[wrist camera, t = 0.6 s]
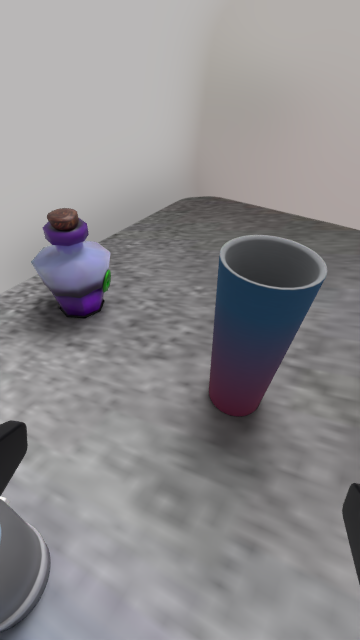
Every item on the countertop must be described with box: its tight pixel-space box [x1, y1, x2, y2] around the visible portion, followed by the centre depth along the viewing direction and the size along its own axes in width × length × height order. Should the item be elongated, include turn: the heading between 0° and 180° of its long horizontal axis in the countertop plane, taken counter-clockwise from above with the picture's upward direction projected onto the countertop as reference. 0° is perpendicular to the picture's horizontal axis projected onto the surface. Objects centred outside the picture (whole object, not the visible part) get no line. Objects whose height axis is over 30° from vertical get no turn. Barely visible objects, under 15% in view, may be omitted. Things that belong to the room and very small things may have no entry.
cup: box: [209, 235, 327, 416], centre depth 24 cm, size 7×7×15 cm
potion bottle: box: [31, 208, 111, 318], centre depth 34 cm, size 9×9×12 cm
